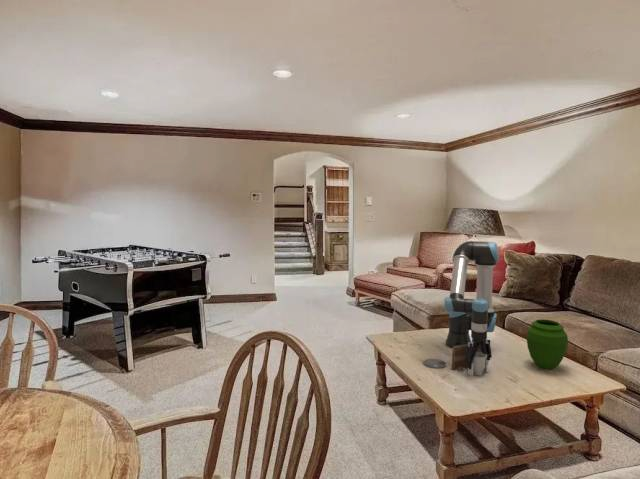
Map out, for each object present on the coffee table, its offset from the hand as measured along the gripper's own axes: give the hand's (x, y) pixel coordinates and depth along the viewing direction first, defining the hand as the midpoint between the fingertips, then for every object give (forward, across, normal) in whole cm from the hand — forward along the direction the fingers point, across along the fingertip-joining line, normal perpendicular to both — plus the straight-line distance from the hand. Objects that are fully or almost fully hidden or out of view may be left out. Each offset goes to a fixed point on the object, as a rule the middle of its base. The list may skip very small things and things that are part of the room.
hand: (477, 373), depth 208 cm
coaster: (0, -12, +19) cm, 23 cm away
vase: (0, +39, -9) cm, 40 cm away
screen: (0, +2, +9) cm, 9 cm away
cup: (0, 0, 0) cm, 0 cm away
